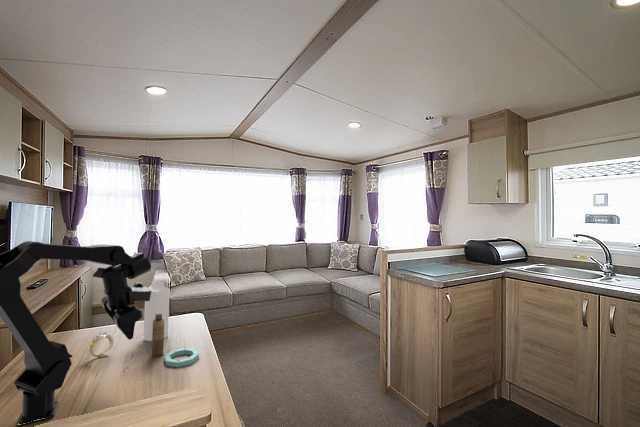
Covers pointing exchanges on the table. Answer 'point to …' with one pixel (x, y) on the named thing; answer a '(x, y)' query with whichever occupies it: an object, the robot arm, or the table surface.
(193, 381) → the table surface
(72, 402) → the table surface
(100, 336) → the ring
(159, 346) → the brown peg
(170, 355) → the teal faceted ring
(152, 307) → the milk
